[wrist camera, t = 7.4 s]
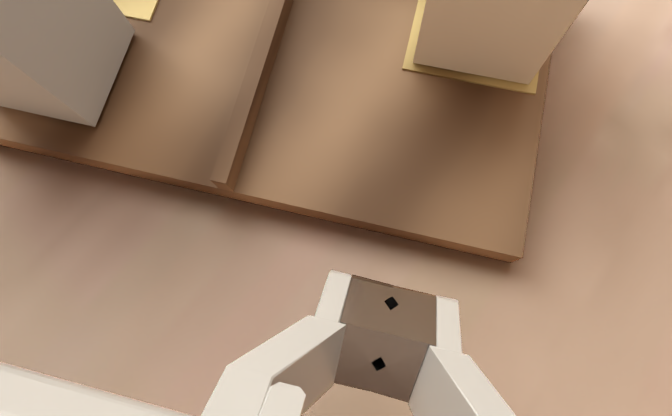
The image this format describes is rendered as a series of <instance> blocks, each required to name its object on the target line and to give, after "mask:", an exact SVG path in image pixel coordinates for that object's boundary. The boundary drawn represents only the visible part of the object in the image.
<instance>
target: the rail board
mask: <svg viewBox="0 0 672 416" xmlns="http://www.w3.org/2000/svg"><path fill="white" fill-rule="evenodd" d="M113 1H114V2H115V3H116V5H117V6H118V8H119V9H120V10H121V12H122V13H123V14H124V16H125V17H126V18H127V20H128V21H129V22H130V24H131V25H132V26H133V28H134V29H135V32H134V34H133V37H132V39H131V41H130V44H129V46H128V49H127V51H126V54H125V56H124V58H123V61H122V63H121V66H120V68H119V71H118V73H117V75H116V78H115V80H114V83H113V85H112V88H111V90H110V92H109V95H108V97H107V100H106V102H105V105H104V107H103V109H102V112H101V114H100V117H99V119H98V122H97V124H96V126H95V127H93V126H88V125H84V124H79V123H75V122H70V121H66V120H61V119H57V118H52V117H47V116H43V115H38V114H34V113H29V112H25V111H20V110H16V109H11V108H7V107H2V106H0V145H2V146H6V147H11V148H15V149H19V150H24V151H28V152H32V153H37V154H41V155H46V156H50V157H54V158H59V159H63V160H67V161H72V162H76V163H80V164H85V165H89V166H93V167H98V168H102V169H106V170H111V171H115V172H119V173H124V174H128V175H132V176H137V177H141V178H145V179H150V180H154V181H158V182H163V183H167V184H172V185H176V186H180V187H185V188H189V189H193V190H198V191H202V192H206V193H211V194H215V195H219V196H224V197H228V198H232V199H237V200H241V201H245V202H250V203H254V204H258V205H263V206H267V207H271V208H276V209H280V210H285V211H289V212H293V213H298V214H302V215H306V216H311V217H315V218H319V219H324V220H328V221H332V222H337V223H341V224H345V225H350V226H354V227H358V228H363V229H367V230H371V231H376V232H380V233H384V234H389V235H393V236H397V237H402V238H406V239H411V240H415V241H419V242H424V243H428V244H432V245H437V246H441V247H445V248H450V249H454V250H458V251H463V252H467V253H471V254H476V255H480V256H484V257H489V258H493V259H497V260H502V261H506V262H510V263H511V262H514V261H516V260H519V259H521V258H523V251H524V244H525V237H526V230H527V223H528V216H529V209H530V202H531V195H532V188H533V181H534V174H535V166H536V159H537V152H538V145H539V138H540V131H541V124H542V117H543V110H544V103H545V96H546V89H547V82H548V75H549V68H550V61H551V54H552V53H551V54H550V55H549V57H548V58H547V60H546V61H545V62H544V64H543V65H542V67H541V68H540V69H539V71H538V72H537V74H536V75H535V76H534V78H533V79H532V81H531V82H530V83H529V85H528V84H523V83H517V82H512V81H507V80H501V79H496V78H491V77H486V76H480V75H475V74H470V73H464V72H459V71H454V70H448V69H443V68H438V67H433V66H427V65H422V64H417V63H413V59H414V55H415V50H416V45H417V41H418V36H419V31H420V27H421V22H422V18H423V13H424V8H425V4H426V0H113Z"/></svg>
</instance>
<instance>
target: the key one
mask: <svg viewBox="0 0 672 416" xmlns="http://www.w3.org/2000/svg"><path fill="white" fill-rule="evenodd" d="M134 32H135V29H134V28H133V26H132V25H131V24H130V22H129V21H128V20H127V18H126V17H125V16H124V14H123V13H122V12H121V10H120V9H119V8H118V6H117V5H116V3H115V2H114V1H113V0H0V106H2V107H7V108H11V109H16V110H20V111H25V112H29V113H34V114H38V115H43V116H47V117H52V118H57V119H61V120H66V121H70V122H75V123H79V124H84V125H88V126H93V127H95V126H96V124H97V122H98V119H99V117H100V114H101V112H102V109H103V107H104V105H105V102H106V100H107V97H108V95H109V92H110V90H111V88H112V85H113V83H114V80H115V78H116V75H117V73H118V71H119V68H120V66H121V63H122V61H123V58H124V56H125V54H126V51H127V49H128V46H129V44H130V41H131V39H132V37H133V34H134Z"/></svg>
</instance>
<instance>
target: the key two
mask: <svg viewBox="0 0 672 416" xmlns="http://www.w3.org/2000/svg"><path fill="white" fill-rule="evenodd" d="M588 1H589V0H426V4H425V8H424V13H423V18H422V22H421V27H420V31H419V36H418V41H417V45H416V50H415V55H414V59H413V63H417V64H422V65H427V66H433V67H438V68H443V69H448V70H454V71H459V72H464V73H470V74H475V75H480V76H486V77H491V78H496V79H501V80H507V81H512V82H517V83H523V84H528V85H529V83H530V82H531V81H532V79H533V78H534V76H535V75H536V74H537V72H538V71H539V69H540V68H541V67H542V65H543V64H544V62H545V61H546V60H547V58H548V57H549V55H550V54H551V53H552V51H553V50H554V48H555V47H556V46H557V44H558V43H559V41H560V40H561V39H562V37H563V36H564V34H565V33H566V32H567V30H568V29H569V27H570V26H571V25H572V23H573V22H574V20H575V19H576V18H577V16H578V15H579V13H580V12H581V11H582V9H583V8H584V6H585V5H586V4H587V2H588Z"/></svg>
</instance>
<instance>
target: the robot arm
mask: <svg viewBox="0 0 672 416" xmlns="http://www.w3.org/2000/svg"><path fill="white" fill-rule="evenodd" d="M351 276H352V278H351ZM334 383H337V384H341V385H345V386H349V387H354V388H358V389H362V390H367V391H371V392H374V393H378V394H381V395H384V396H388V397H391V398H395V399H398V400H402V401H405V402H408V405H409V408H410V410H411V412H412V414H413V416H516V415H515V413H514V412H513V411H512V409H511V408H510V407H509V406H508V404H507V403H506V402H505V400H504V399H503V398H502V397H501V395H500V394H499V393H498V391H497V390H496V389H495V388H494V386H493V385H492V384H491V382H490V381H489V380H488V379H487V377H486V376H485V375H484V373H483V372H482V371H481V370H480V368H479V367H478V366H477V364H476V363H475V362H474V361H473V359H472V358H471V357H470V355H466V354H463V350H462V336H461V323H460V309H459V302H458V300H457V299H453V298H448V297H444V296H439V295H432V294H428V293H423V292H419V291H415V290H411V289H406V288H402V287H398V286H393V285H390V284H386V283H383V282H379V281H375V280H371V279H367V278H364V277H360V276H356V275H351V274H347V273H343V272H339V271H335V270H332V269H331V271H330V272H329V274H328V277H327V280H326V283H325V286H324V289H323V292H322V295H321V298H320V301H319V304H318V307H317V310H316V313H315V316H311V315H307V316H306V317H304V318H303V319H301V320H299V321H298V322H296V323H294V324H293V325H291V326H290V327H288V328H286V329H285V330H283V331H282V332H280V333H278V334H277V335H275V336H274V337H272V338H270V339H269V340H267V341H265V342H264V343H262V344H261V345H259V346H257V347H256V348H254V349H253V350H251V351H249V352H248V353H246V354H244V355H243V356H241V357H240V358H238V359H236V360H235V361H233V362H232V363H230V364H228V365H227V366H226V368H225V370H224V372H223V374H222V376H221V378H220V379H219V381H218V383H217V385H216V387H215V389H214V391H213V393H212V395H211V397H210V399H209V401H208V403H207V405H206V407H205V409H204V411H203V412H202V414H201V416H302V414H304V413H305V412H306V411H307V410H308V409H309V408H310V407H311V406H312V405H313V404H314V403H315V402H316V401H317V400H318V399H319V398H320V397H321V396H322V395H323V394H324V393H326V392H327V391H328V390H329V389H330V388H331V387H332V386H333V384H334ZM0 416H194V415H191V414H187V413H183V412H180V411H176V410H173V409H169V408H166V407H162V406H158V405H155V404H151V403H148V402H144V401H140V400H137V399H133V398H130V397H126V396H123V395H119V394H115V393H112V392H108V391H105V390H101V389H97V388H94V387H90V386H87V385H83V384H80V383H76V382H72V381H69V380H65V379H62V378H58V377H54V376H51V375H47V374H44V373H40V372H36V371H33V370H29V369H26V368H22V367H19V366H15V365H11V364H8V363H4V362H1V361H0Z"/></svg>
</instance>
